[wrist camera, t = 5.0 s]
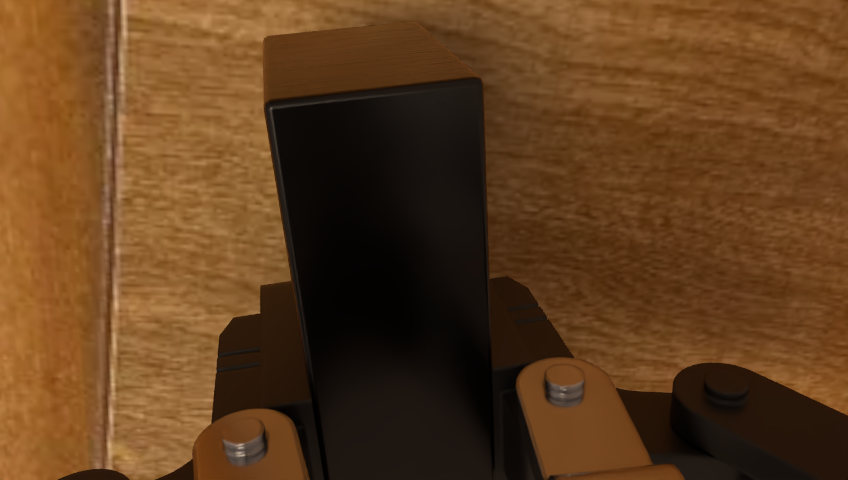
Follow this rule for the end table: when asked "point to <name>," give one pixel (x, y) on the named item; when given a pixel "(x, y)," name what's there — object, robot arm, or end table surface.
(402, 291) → the knife
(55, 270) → the end table surface
